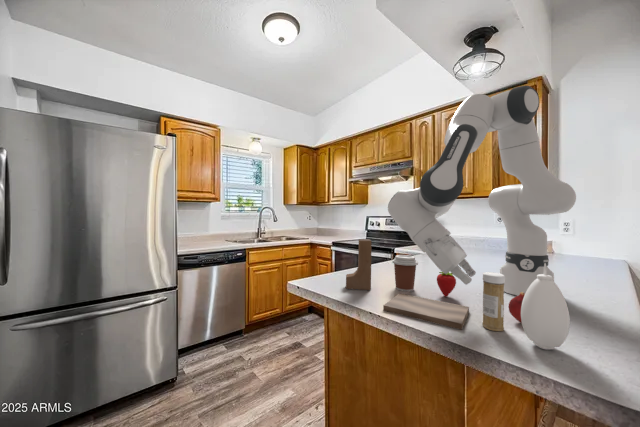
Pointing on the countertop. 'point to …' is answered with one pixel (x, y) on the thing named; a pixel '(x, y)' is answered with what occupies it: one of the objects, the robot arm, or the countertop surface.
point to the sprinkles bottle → (493, 301)
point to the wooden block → (361, 268)
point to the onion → (516, 306)
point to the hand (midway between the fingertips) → (471, 278)
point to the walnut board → (428, 310)
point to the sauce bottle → (545, 313)
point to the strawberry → (446, 283)
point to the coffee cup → (404, 272)
